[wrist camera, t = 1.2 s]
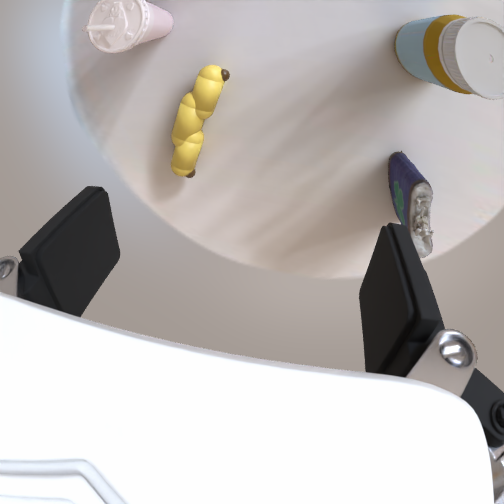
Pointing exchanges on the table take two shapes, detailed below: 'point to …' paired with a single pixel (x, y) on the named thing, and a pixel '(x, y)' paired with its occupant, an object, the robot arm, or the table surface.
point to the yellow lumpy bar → (195, 118)
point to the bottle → (455, 53)
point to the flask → (411, 201)
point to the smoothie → (126, 24)
